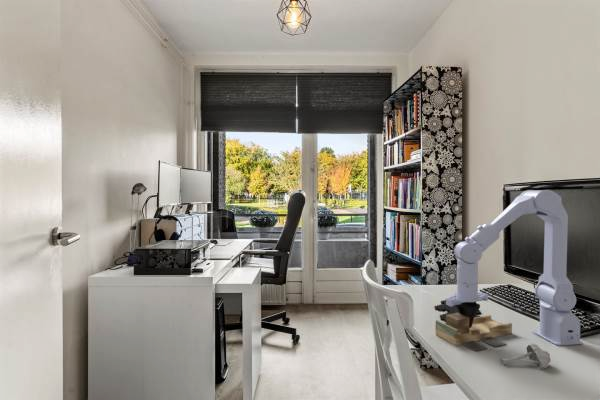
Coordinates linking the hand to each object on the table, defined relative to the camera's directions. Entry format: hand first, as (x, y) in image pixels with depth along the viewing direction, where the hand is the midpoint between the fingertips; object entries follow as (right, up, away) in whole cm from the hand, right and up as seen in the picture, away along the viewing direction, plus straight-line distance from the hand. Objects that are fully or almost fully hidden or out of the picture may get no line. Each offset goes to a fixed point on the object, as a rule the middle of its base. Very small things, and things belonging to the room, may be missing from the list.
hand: (467, 326), depth 106 cm
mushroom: (+6, -4, -18) cm, 19 cm away
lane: (+3, -3, -1) cm, 4 cm away
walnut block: (-4, -1, -1) cm, 4 cm away
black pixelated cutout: (+6, -3, +17) cm, 18 cm away
